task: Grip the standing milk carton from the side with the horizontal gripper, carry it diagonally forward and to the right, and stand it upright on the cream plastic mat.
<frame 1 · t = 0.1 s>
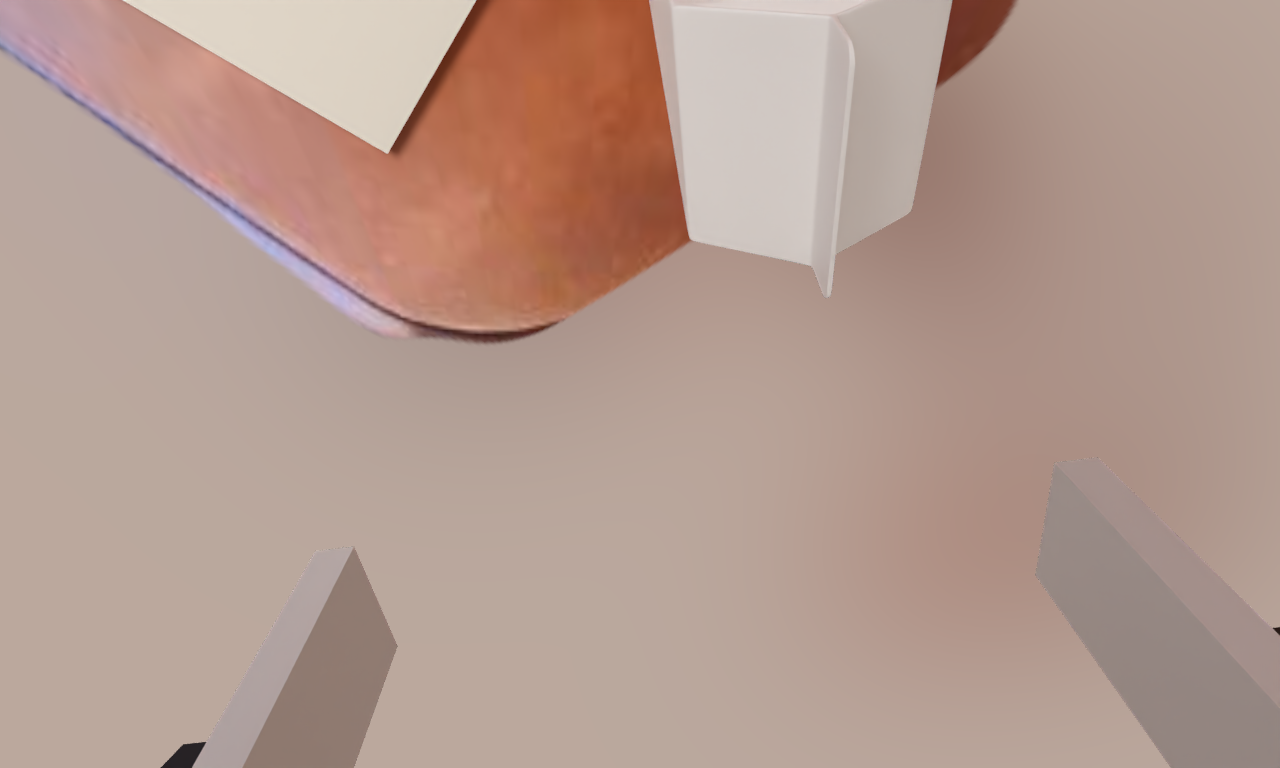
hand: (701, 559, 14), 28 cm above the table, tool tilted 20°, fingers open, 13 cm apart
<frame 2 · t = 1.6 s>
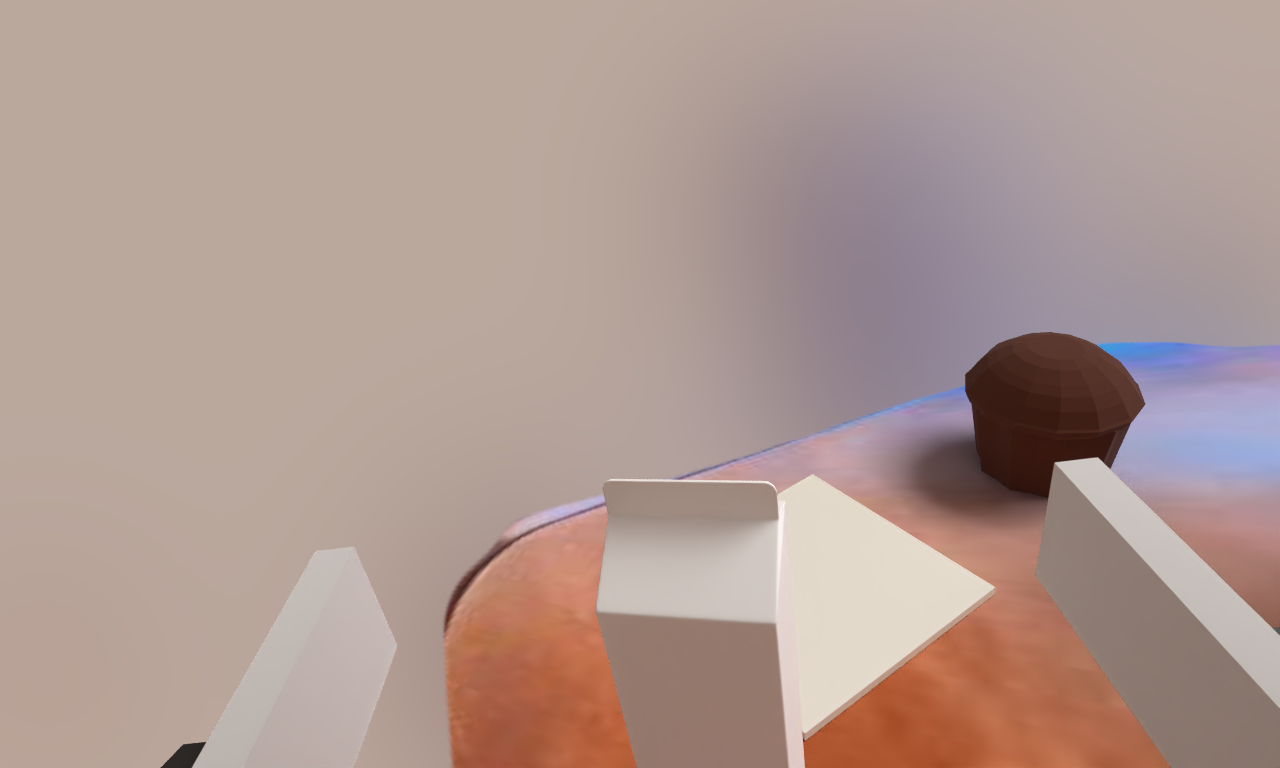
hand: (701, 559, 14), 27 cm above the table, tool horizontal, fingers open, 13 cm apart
muffin: (1038, 463, 55), on the table
mat: (809, 584, 48), on the table
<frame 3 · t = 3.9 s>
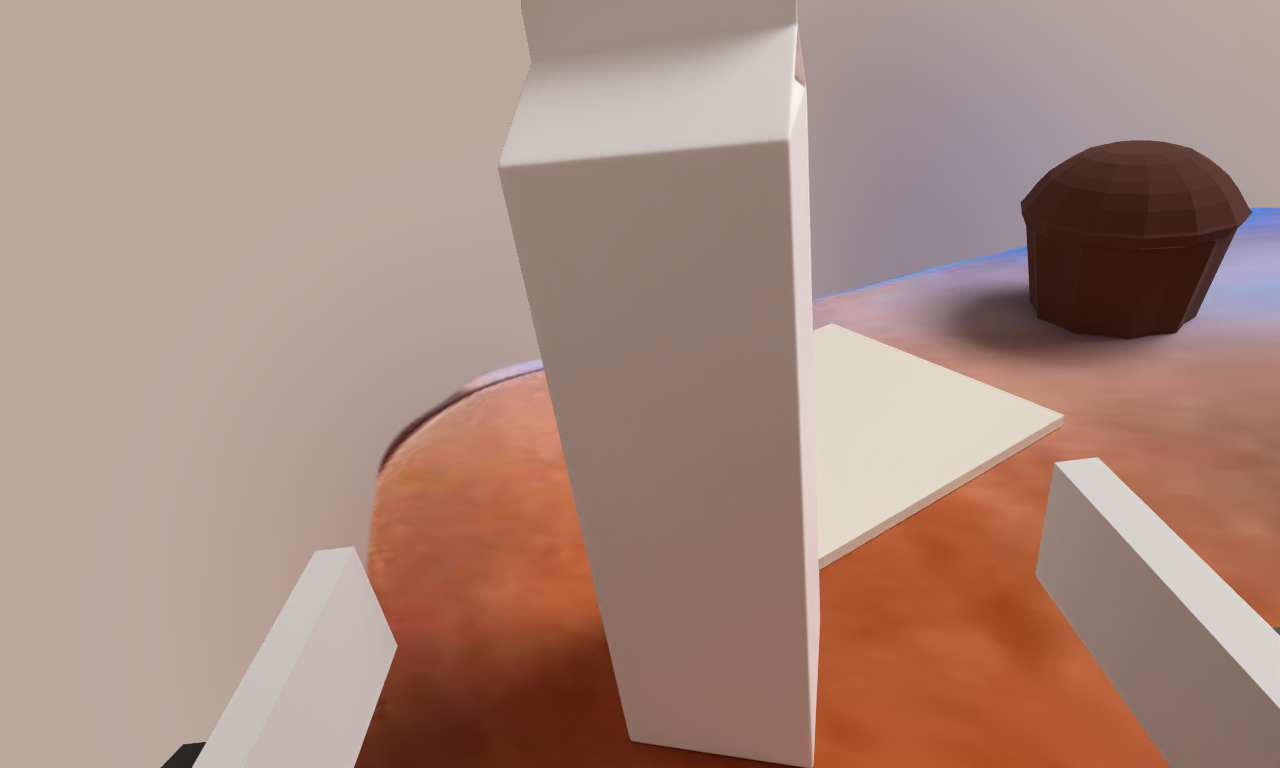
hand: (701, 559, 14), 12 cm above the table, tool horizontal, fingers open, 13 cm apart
muffin: (1107, 310, 45), on the table
mat: (827, 421, 38), on the table
milk: (731, 681, 25), on the table
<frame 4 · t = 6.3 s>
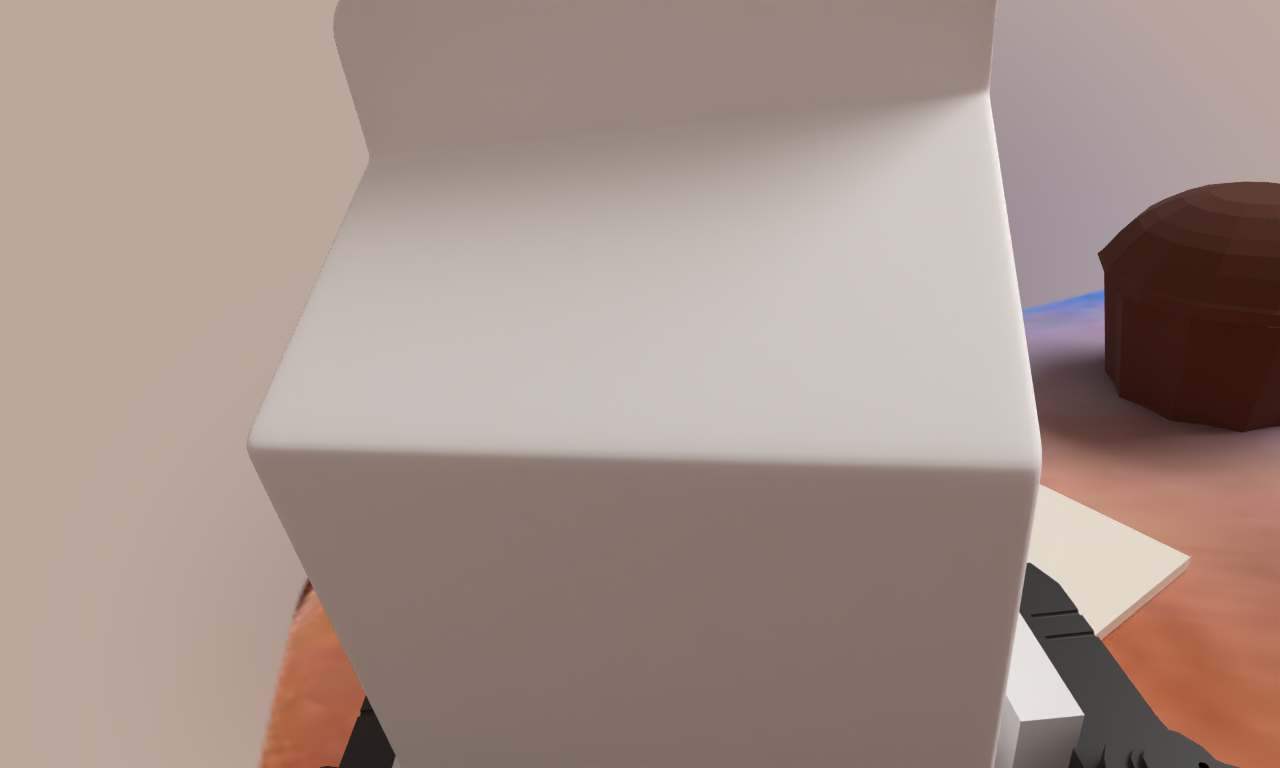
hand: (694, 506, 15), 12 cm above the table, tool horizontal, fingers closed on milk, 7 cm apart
muffin: (1204, 387, 37), on the table
mat: (870, 549, 30), on the table
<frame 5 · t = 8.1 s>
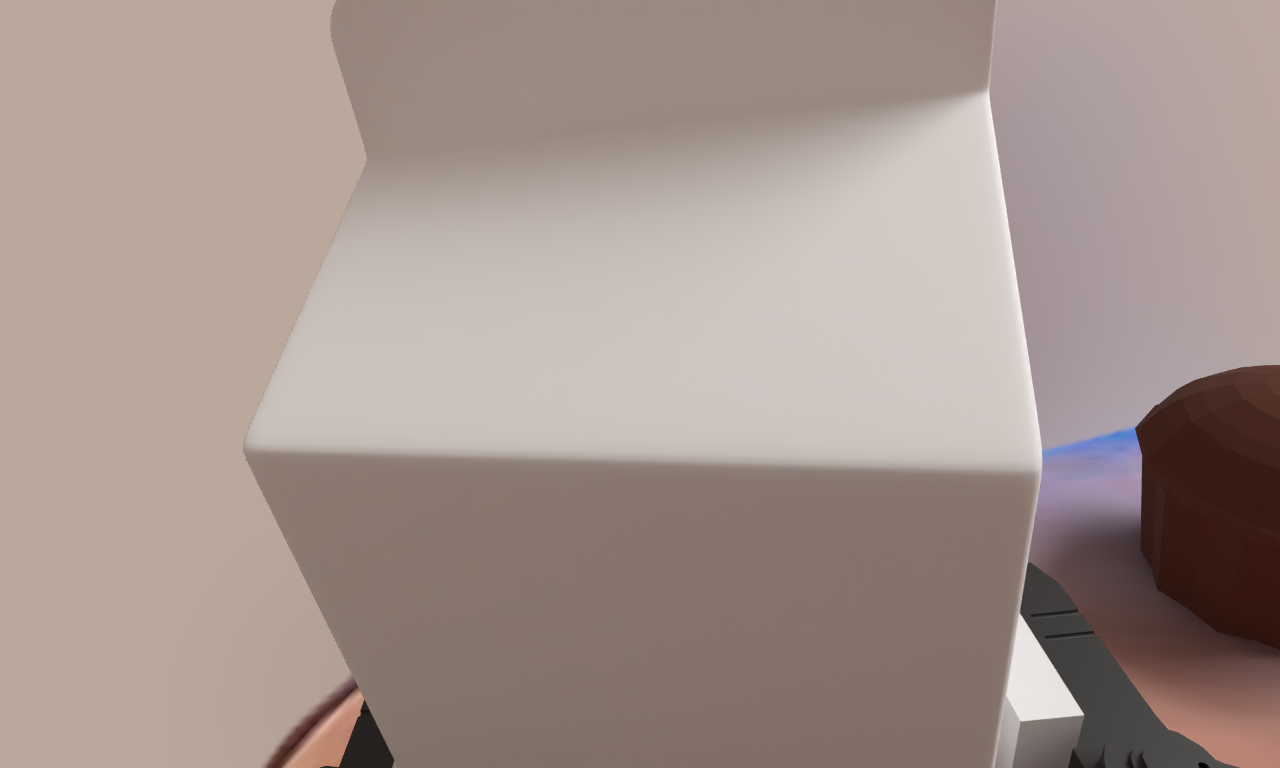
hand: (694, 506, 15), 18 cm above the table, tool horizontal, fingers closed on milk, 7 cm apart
muffin: (1253, 581, 33), on the table
when the fingers open (14 cm above the table, at t = 10.1 s): milk drops 1 cm, resting on mat.
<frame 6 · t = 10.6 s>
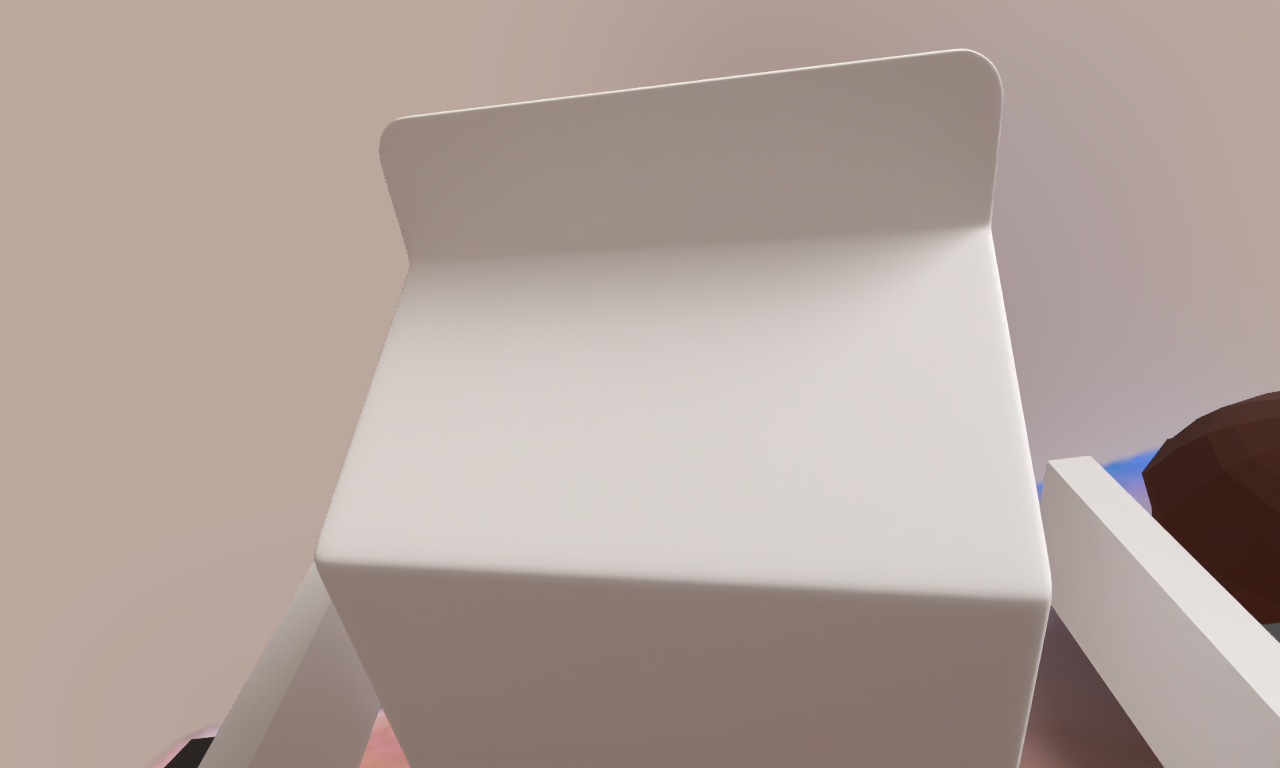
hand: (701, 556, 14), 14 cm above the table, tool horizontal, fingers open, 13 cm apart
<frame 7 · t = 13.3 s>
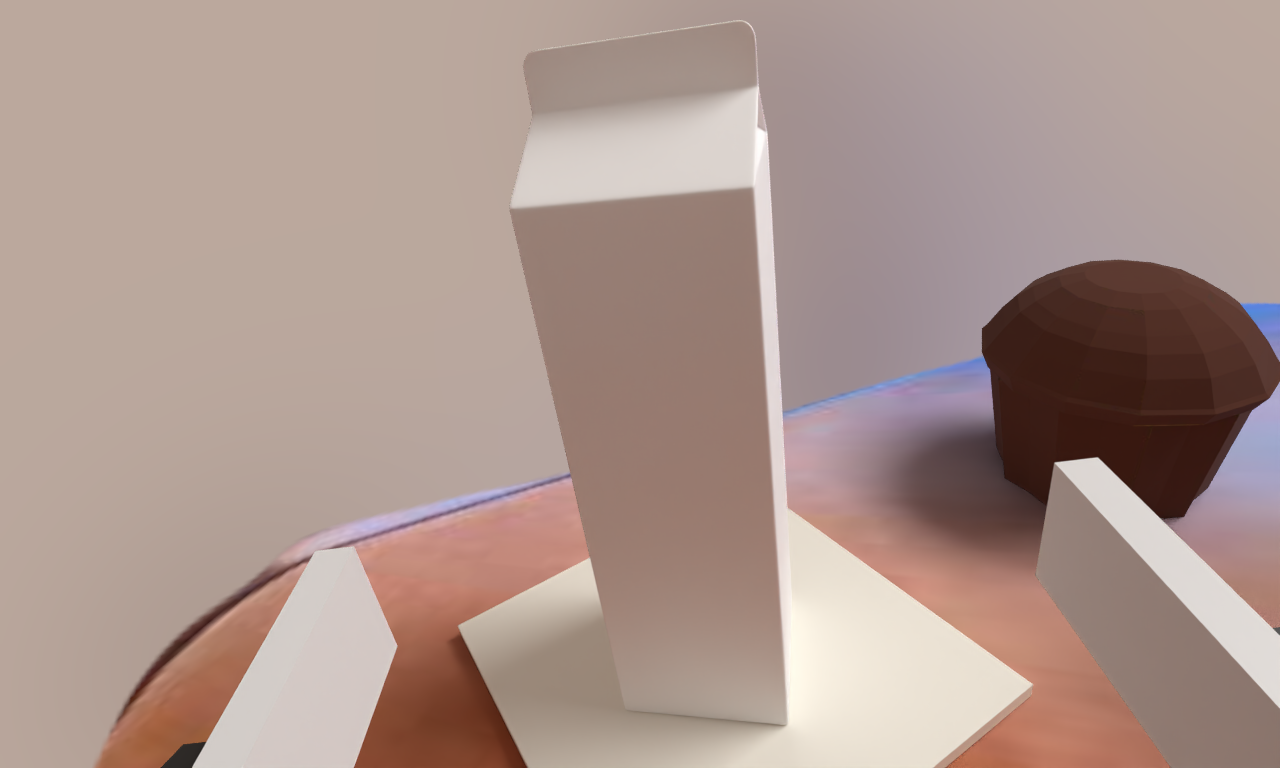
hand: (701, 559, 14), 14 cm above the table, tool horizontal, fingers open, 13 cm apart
muffin: (1093, 468, 35), on the table
mat: (714, 662, 28), on the table
milk: (714, 655, 28), resting on mat
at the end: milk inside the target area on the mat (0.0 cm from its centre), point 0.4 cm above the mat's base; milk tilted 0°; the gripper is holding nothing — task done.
